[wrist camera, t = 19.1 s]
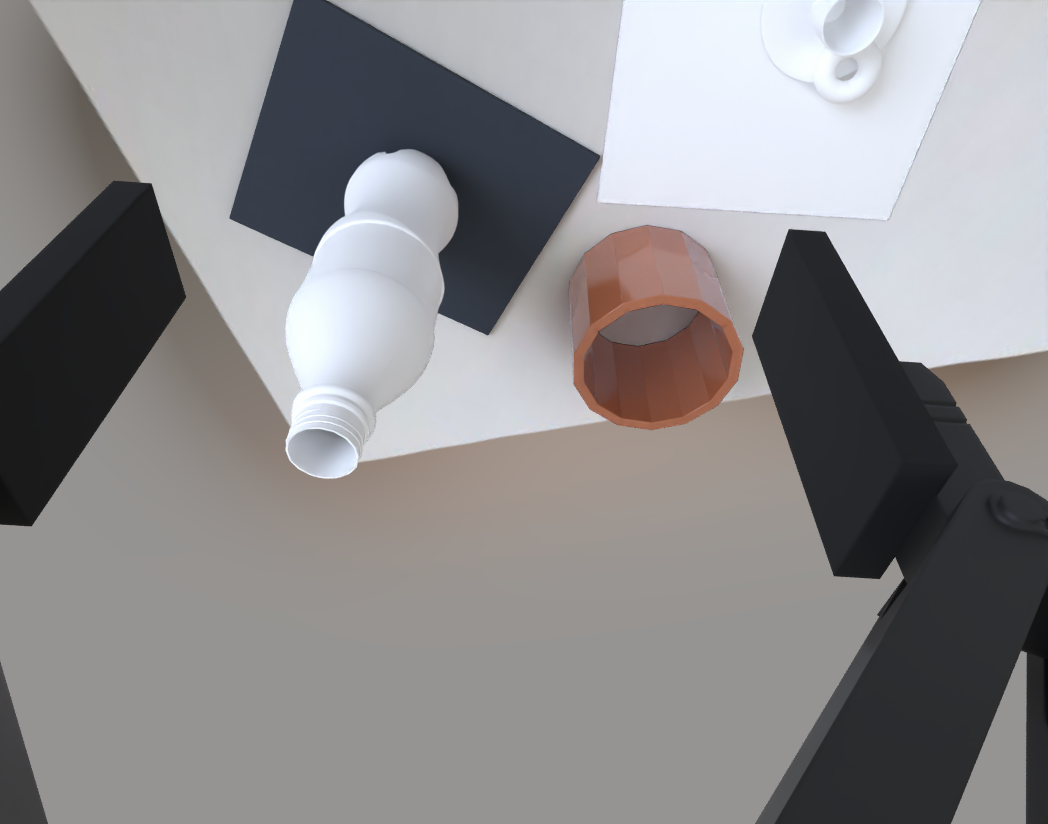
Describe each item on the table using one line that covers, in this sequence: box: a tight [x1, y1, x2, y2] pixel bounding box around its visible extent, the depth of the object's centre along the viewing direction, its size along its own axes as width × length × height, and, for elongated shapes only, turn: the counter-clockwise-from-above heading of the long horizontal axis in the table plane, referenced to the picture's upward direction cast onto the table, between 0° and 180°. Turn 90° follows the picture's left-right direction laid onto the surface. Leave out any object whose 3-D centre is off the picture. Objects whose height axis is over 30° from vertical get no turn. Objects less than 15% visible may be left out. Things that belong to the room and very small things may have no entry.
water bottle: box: [285, 149, 458, 479], centre depth 38 cm, size 7×7×25 cm
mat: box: [230, 0, 600, 335], centre depth 48 cm, size 20×16×1 cm
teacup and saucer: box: [760, 0, 908, 105], centre depth 39 cm, size 9×8×4 cm
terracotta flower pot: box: [569, 225, 744, 430], centre depth 50 cm, size 11×11×9 cm
